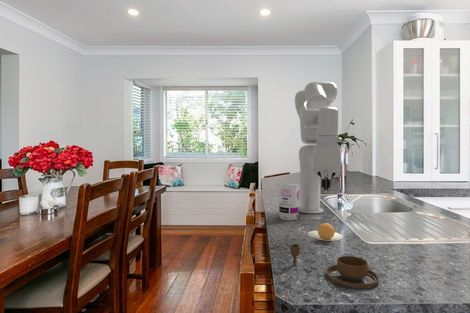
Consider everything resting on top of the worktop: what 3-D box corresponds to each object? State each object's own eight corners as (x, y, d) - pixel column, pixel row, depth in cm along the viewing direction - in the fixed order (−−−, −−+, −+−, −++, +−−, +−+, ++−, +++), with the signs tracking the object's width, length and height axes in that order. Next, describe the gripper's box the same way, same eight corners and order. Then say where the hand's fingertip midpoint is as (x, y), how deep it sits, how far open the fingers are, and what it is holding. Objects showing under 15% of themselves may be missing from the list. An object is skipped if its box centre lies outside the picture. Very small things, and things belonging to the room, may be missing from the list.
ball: (317, 240, 110) (317, 223, 112) (334, 241, 108) (334, 225, 110) (317, 238, 105) (317, 221, 107) (335, 239, 103) (334, 222, 105)
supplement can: (297, 216, 141) (297, 183, 140) (299, 221, 133) (299, 185, 132) (278, 216, 142) (279, 182, 141) (279, 220, 134) (280, 184, 133)
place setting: (344, 299, 67) (345, 272, 67) (285, 267, 85) (285, 245, 84) (396, 283, 76) (397, 258, 75) (333, 256, 93) (333, 236, 93)
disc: (308, 229, 120) (308, 229, 120) (342, 232, 116) (342, 232, 116) (306, 238, 108) (306, 238, 108) (344, 242, 105) (344, 241, 105)
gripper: (347, 141, 121) (346, 189, 122) (307, 140, 125) (306, 187, 126) (349, 141, 114) (347, 192, 115) (306, 140, 118) (305, 189, 119)
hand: (325, 189), depth 120 cm, fingers closed
